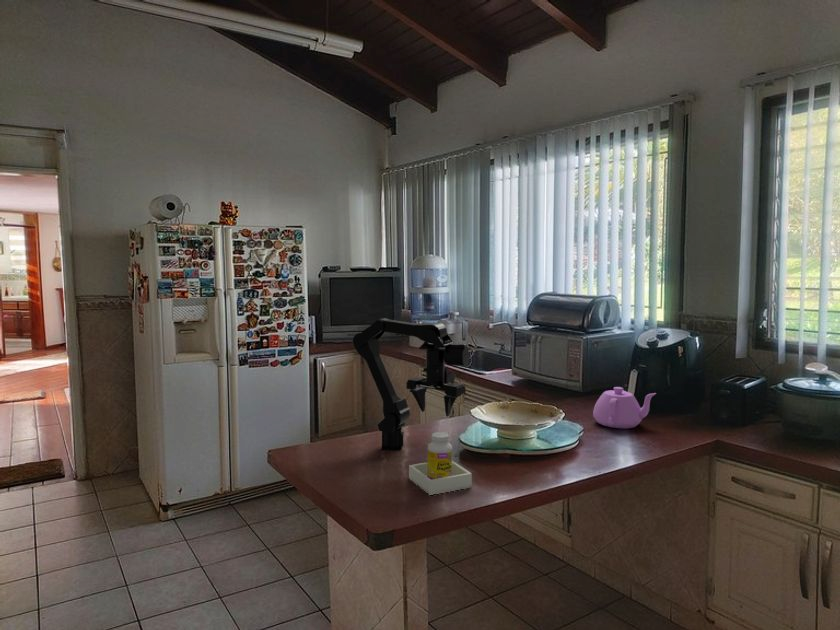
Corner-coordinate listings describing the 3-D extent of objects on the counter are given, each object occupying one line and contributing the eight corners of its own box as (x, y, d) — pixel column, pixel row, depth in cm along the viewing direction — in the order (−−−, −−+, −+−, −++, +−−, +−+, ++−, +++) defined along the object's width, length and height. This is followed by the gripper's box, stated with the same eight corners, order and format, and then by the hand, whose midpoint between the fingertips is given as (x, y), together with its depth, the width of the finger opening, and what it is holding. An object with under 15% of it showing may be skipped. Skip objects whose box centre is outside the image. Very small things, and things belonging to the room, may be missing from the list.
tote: (409, 479, 162) (409, 465, 161) (448, 472, 167) (448, 458, 167) (429, 496, 150) (429, 481, 150) (471, 487, 156) (471, 473, 155)
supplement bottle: (435, 487, 154) (435, 439, 153) (422, 478, 160) (423, 433, 159) (456, 482, 158) (457, 436, 156) (443, 474, 163) (444, 429, 162)
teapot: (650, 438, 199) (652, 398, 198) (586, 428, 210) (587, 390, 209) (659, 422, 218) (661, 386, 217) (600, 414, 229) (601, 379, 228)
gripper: (475, 363, 180) (474, 412, 181) (425, 357, 191) (425, 404, 192) (455, 369, 171) (455, 421, 172) (405, 362, 182) (405, 411, 183)
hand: (435, 413), depth 180 cm, fingers open, 9 cm apart
